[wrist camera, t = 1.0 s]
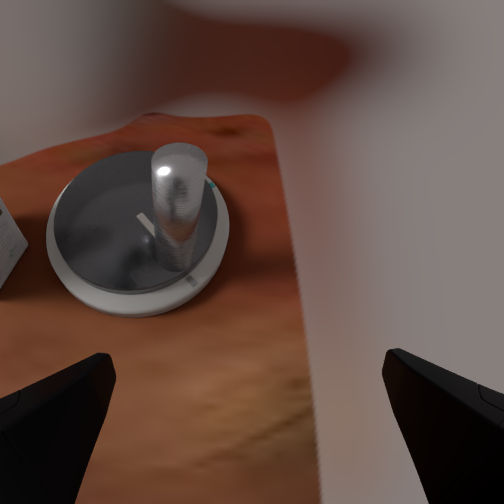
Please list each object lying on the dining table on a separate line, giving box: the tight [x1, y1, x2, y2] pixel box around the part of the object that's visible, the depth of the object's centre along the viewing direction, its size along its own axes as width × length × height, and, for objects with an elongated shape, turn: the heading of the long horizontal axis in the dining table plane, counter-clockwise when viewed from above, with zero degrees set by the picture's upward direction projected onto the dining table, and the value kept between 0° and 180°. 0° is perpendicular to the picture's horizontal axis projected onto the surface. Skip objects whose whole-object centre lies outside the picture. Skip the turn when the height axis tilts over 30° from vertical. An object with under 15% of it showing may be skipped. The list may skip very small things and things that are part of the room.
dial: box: [54, 143, 218, 295], centre depth 17 cm, size 12×12×9 cm
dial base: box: [46, 176, 229, 318], centre depth 21 cm, size 14×14×2 cm
